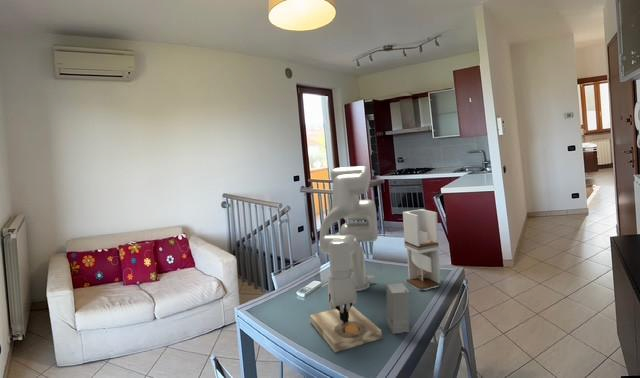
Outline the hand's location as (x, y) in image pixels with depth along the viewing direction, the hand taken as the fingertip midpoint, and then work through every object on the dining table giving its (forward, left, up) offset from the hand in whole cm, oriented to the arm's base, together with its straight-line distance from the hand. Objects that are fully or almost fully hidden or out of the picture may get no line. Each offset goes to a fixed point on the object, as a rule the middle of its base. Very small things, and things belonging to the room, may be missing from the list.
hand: (344, 321), depth 135 cm
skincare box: (-18, +8, -4) cm, 20 cm away
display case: (-50, -20, -4) cm, 54 cm away
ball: (0, +6, -1) cm, 6 cm away
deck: (0, -1, -4) cm, 4 cm away
